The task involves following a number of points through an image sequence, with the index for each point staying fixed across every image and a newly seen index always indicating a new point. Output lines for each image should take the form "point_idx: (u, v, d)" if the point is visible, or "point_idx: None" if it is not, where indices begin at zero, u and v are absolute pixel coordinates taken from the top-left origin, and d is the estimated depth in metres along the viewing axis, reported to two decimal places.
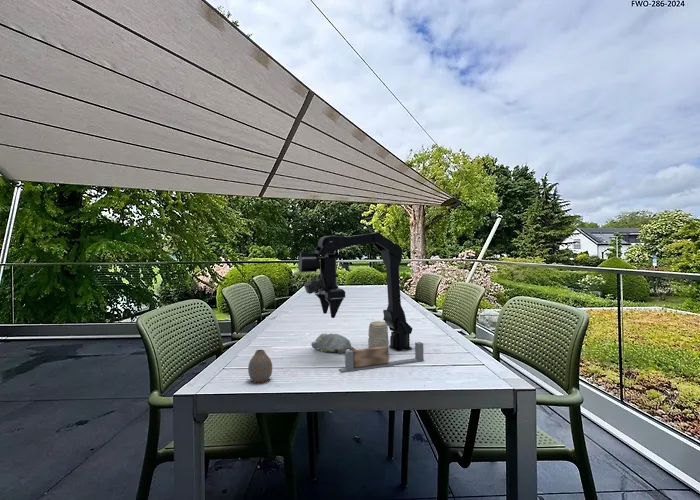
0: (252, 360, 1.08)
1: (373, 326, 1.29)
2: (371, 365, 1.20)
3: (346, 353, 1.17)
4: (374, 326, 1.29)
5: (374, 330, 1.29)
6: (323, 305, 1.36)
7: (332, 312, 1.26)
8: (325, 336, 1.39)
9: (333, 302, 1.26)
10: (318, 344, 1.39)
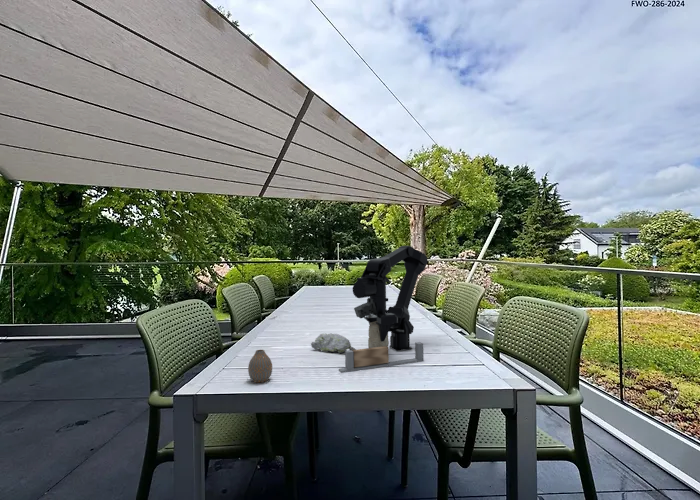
0: (252, 360, 1.08)
1: (373, 326, 1.29)
2: (371, 365, 1.20)
3: (346, 353, 1.17)
4: (374, 326, 1.29)
5: (374, 330, 1.29)
6: None
7: (382, 336, 1.28)
8: (325, 336, 1.39)
9: (383, 326, 1.28)
10: (318, 344, 1.39)
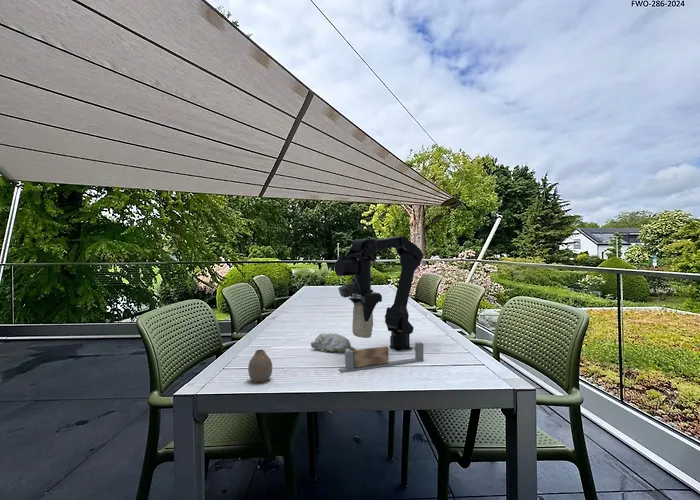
0: (252, 360, 1.08)
1: (357, 306, 1.28)
2: (371, 365, 1.20)
3: (346, 353, 1.17)
4: (358, 306, 1.28)
5: (358, 310, 1.27)
6: None
7: (366, 315, 1.26)
8: (324, 336, 1.39)
9: (367, 305, 1.26)
10: (318, 344, 1.39)
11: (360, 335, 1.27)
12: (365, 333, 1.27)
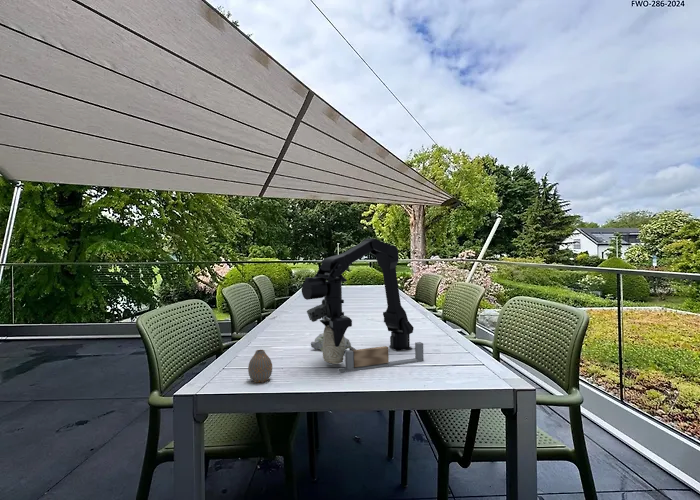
0: (252, 360, 1.07)
1: (327, 330, 1.19)
2: (371, 365, 1.20)
3: (346, 353, 1.17)
4: (328, 330, 1.19)
5: (328, 334, 1.19)
6: None
7: (336, 341, 1.18)
8: None
9: (337, 330, 1.18)
10: (318, 344, 1.40)
11: (330, 361, 1.19)
12: (336, 359, 1.19)
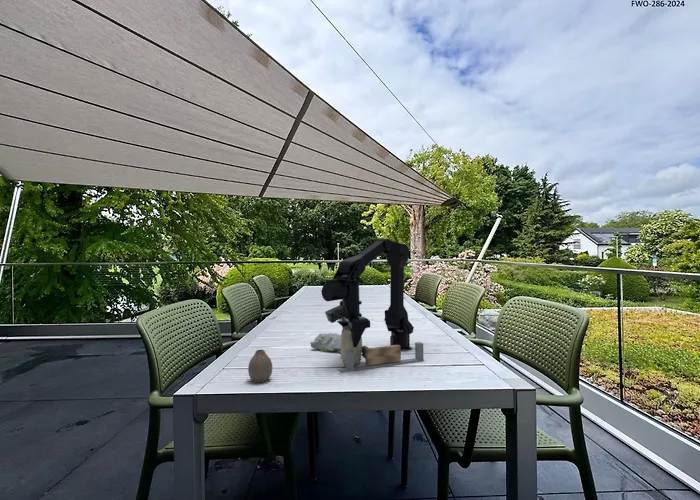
0: (252, 360, 1.07)
1: (345, 331, 1.22)
2: (371, 365, 1.20)
3: (346, 353, 1.17)
4: (346, 331, 1.21)
5: (346, 335, 1.21)
6: None
7: (354, 341, 1.20)
8: (324, 335, 1.40)
9: (355, 331, 1.20)
10: (317, 344, 1.40)
11: None
12: (354, 359, 1.21)
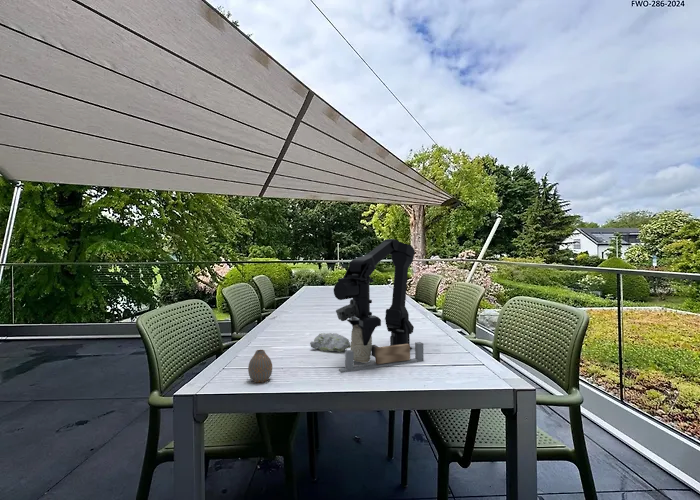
0: (252, 360, 1.08)
1: (356, 329, 1.23)
2: (371, 365, 1.20)
3: (346, 353, 1.17)
4: (357, 329, 1.23)
5: (357, 334, 1.23)
6: None
7: (365, 339, 1.21)
8: (324, 335, 1.40)
9: (366, 329, 1.21)
10: (317, 344, 1.40)
11: (358, 360, 1.22)
12: (363, 358, 1.22)
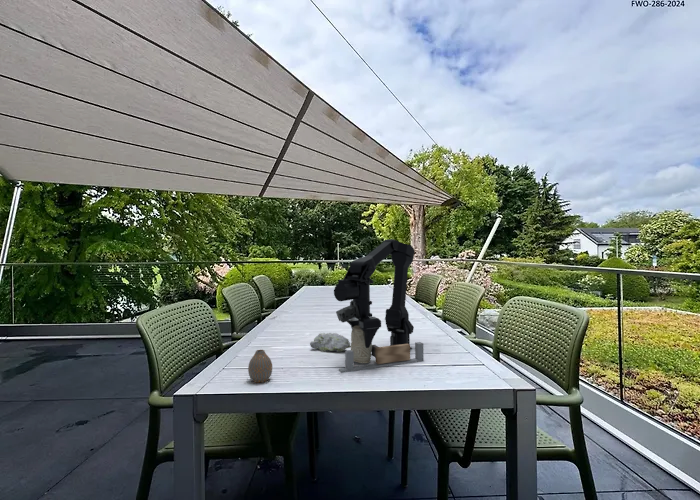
0: (252, 360, 1.07)
1: (355, 330, 1.23)
2: (371, 365, 1.20)
3: (346, 353, 1.17)
4: (356, 330, 1.23)
5: (356, 335, 1.23)
6: None
7: (367, 342, 1.20)
8: (324, 335, 1.40)
9: (368, 331, 1.20)
10: (317, 343, 1.40)
11: (359, 361, 1.22)
12: (364, 359, 1.22)
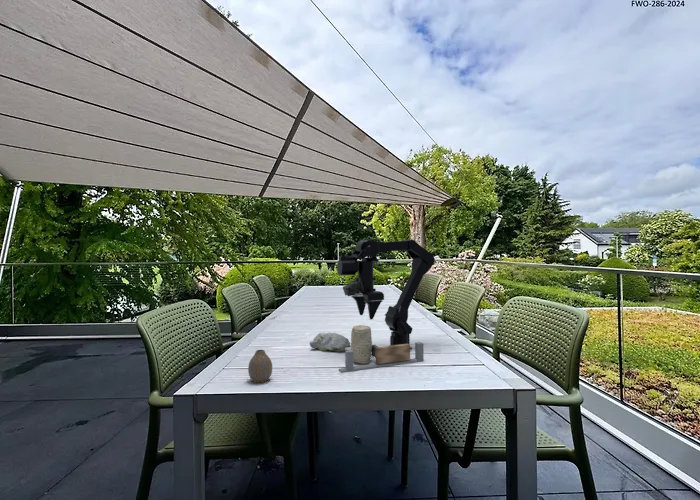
0: (252, 360, 1.07)
1: (355, 330, 1.23)
2: (371, 365, 1.20)
3: (346, 353, 1.17)
4: (356, 330, 1.23)
5: (356, 335, 1.23)
6: (359, 307, 1.41)
7: (371, 314, 1.31)
8: (323, 335, 1.40)
9: (372, 304, 1.31)
10: (317, 343, 1.40)
11: (359, 361, 1.22)
12: (364, 359, 1.22)
